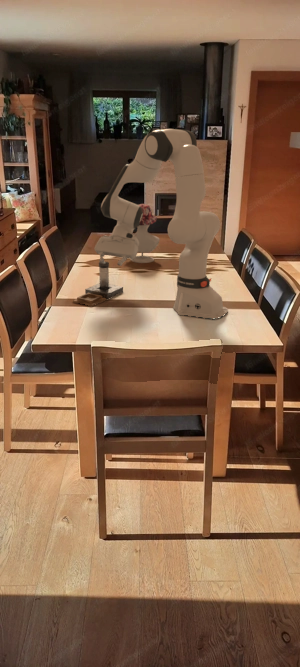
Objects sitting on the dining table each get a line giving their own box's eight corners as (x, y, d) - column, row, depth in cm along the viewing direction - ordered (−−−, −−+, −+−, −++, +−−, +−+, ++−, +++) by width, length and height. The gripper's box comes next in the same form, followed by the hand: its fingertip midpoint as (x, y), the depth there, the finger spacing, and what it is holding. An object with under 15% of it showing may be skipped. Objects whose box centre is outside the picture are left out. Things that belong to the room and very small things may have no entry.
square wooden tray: (106, 300, 216) (106, 295, 215) (92, 306, 208) (91, 302, 208) (87, 295, 221) (87, 291, 220) (73, 302, 213) (72, 297, 212)
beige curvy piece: (160, 255, 289) (162, 201, 277) (158, 263, 272) (159, 207, 260) (128, 254, 290) (128, 200, 278) (123, 262, 274) (123, 206, 262)
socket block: (123, 292, 226) (123, 286, 225) (107, 299, 217) (107, 294, 216) (101, 287, 232) (101, 282, 231) (85, 294, 223) (85, 289, 222)
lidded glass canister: (111, 292, 225) (110, 262, 220) (105, 295, 222) (104, 264, 216) (103, 291, 227) (102, 261, 222) (97, 293, 224) (96, 263, 218)
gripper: (98, 231, 230) (87, 256, 226) (138, 236, 222) (127, 262, 217) (103, 238, 235) (93, 264, 231) (142, 244, 227) (132, 270, 223)
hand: (110, 263), depth 224 cm, fingers open, 8 cm apart
